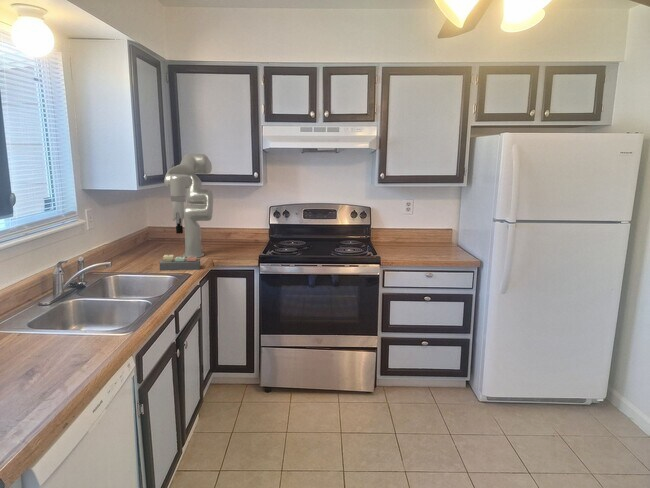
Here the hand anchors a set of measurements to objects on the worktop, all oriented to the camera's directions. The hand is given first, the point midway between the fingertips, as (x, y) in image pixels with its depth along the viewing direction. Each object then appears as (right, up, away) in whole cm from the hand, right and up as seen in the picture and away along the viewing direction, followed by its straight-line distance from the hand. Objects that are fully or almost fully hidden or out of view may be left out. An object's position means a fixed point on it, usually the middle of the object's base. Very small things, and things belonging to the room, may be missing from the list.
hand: (179, 233), depth 228 cm
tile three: (+5, -18, +4) cm, 19 cm away
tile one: (-6, -17, +1) cm, 18 cm away
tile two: (0, -18, +3) cm, 18 cm away
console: (-1, -19, +3) cm, 19 cm away
